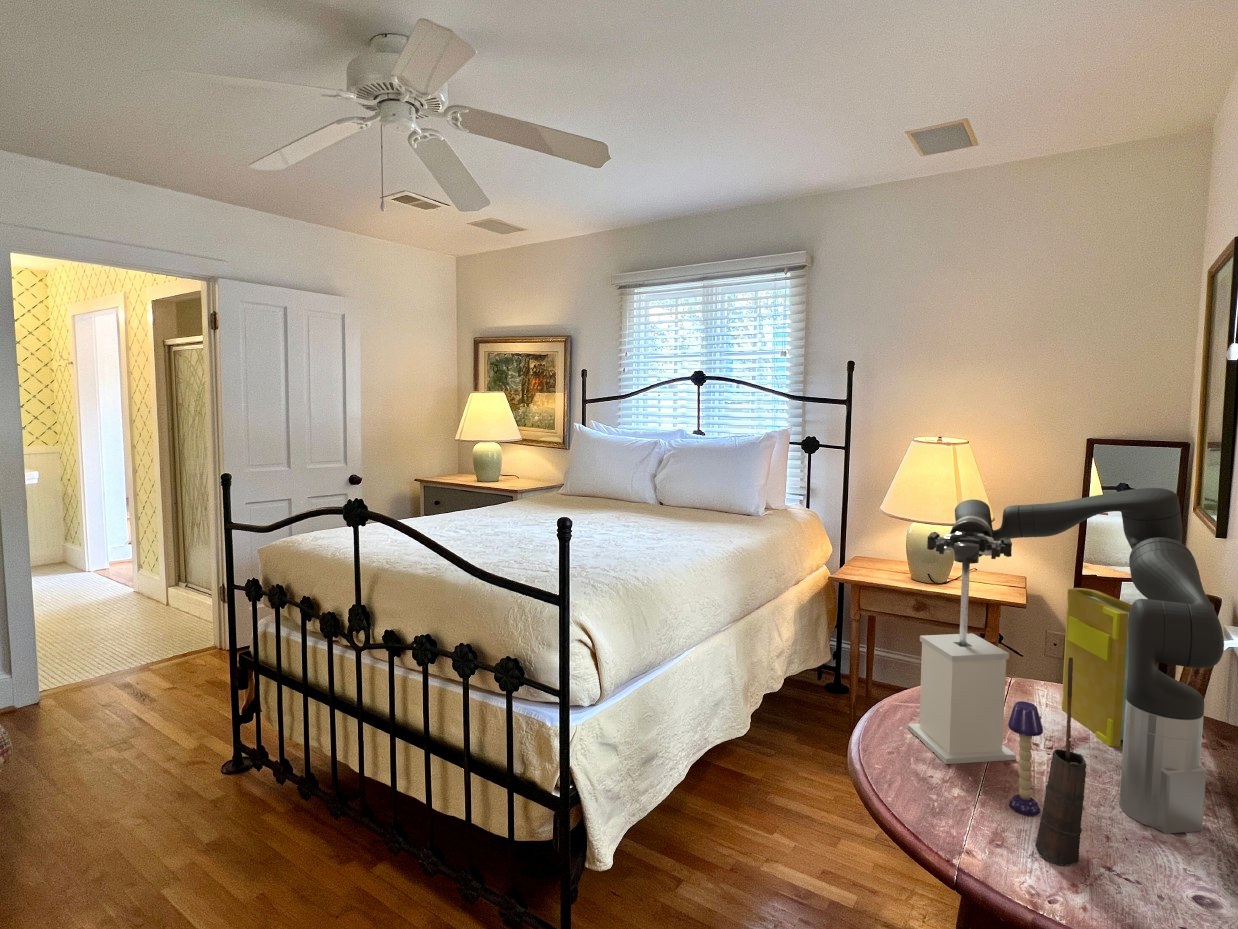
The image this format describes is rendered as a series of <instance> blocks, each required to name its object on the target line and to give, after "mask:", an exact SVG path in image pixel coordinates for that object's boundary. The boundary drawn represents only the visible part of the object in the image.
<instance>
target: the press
mask: <svg viewBox="0 0 1238 929" xmlns="http://www.w3.org/2000/svg"><path fill="white" fill-rule="evenodd" d="M959 638H960V633H952V634H951V633H950V634H929V635H928V634H925V635H919V641H920V642H921V660H920V661H921V662H920V663H921V667H920V669H921V670H920V694H919V696H920V697H919V720H918V721H919V723H907V730H908V729H909V730H910V731H911V732H912V733H913V734H912V733H911V732H910V731H909V730H908V731H909V732H910V733H911V734H912V735H913V736H915V737H916V736H917V737H918V738H919V739H918V738H917V737H916V738H917V739H918V740H919V741H920V740H921V741H922V742H923V743H924V744H925V745H924V744H923V743H922V742H921V741H920V742H921V743H922V744H923V745H924V746H926V748H928V750H930V752H932V753H933V752H934V753H935V754H936V755H937V756H936V755H935V754H934V753H933V754H934V755H935V756H936V757H937V758H939V759H940V760H941V761H942V763H944V764H945V765H953V764H966V763H967V764H968V763H970V764H971V763H985V762H986V763H988V762H1001V761H1002V762H1003V761H1015V760H1016V756H1017V754H1016V753H1015V752H1013V751H1012V750H1010V748H1008V747H1007V746H1005V745H1004V744H1003V743H1004V723H1005V722H1004V719H1005V697H1006V696H1005V694H1006V675H1007V660H1009V659H1010V653H1009V652H1007V651H1005V649H1002V648H1000V647H998V646H996V645H995V644H993V643H991V642H990V641H988V640H986V639H985V638H982V637H981V636H978V635H977V634H974V633H967V647H960V646H959Z"/></svg>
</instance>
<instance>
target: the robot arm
mask: <svg viewBox="0 0 1238 929" xmlns="http://www.w3.org/2000/svg"><path fill="white" fill-rule="evenodd" d="M1110 512H1121V519H1122V525H1123V526H1122V528H1123V533H1124V536H1125V539H1126V540H1127V542H1128V545H1129V547H1130V549H1131V551H1130V553H1129V558H1128V560H1129V561H1128V562H1129V563H1128V565H1129V572H1130V578H1131V580H1132V583H1133V585H1134V587H1135V589H1136V590H1137V591H1138V593H1140V594H1141V595H1142V596H1144V597H1145V598H1138V599H1135V600H1134V601H1133V602H1132V604H1131V605H1132V606H1131V608H1130V611H1129V618H1128V677H1127V690H1126V706H1125V720H1124V736H1123V740H1122V757H1121V769H1120V770H1121V771H1120V790H1119V791H1120V792H1119V802H1118V803H1119V807H1120V808H1121V810H1122V811H1123V812H1124V813H1125V814H1126V815H1127V816H1129V817H1131V818H1132V819H1134V820H1135V821H1137V822H1139V823H1141V824H1144V825H1146V826H1149V827H1151V828H1154V829H1157V830H1158V831H1160V832H1162V833H1164V834H1176V833H1191V832H1192V833H1193V832H1202V831H1203V825H1204V824H1203V822H1204V812H1205V811H1204V810H1205V795H1206V781H1207V770H1206V769H1205V768H1204V767H1203V766H1201V756H1202V742H1203V740H1202V739H1203V729H1204V728H1203V726H1204V714H1205V700H1204V697H1203V695H1202V693H1200V692H1199V690H1196V689H1195V688H1194V687H1192V686H1190V685H1188V684H1186V683H1184V682H1181V681H1179V680H1177V679H1175V678H1173V677H1171V676H1168V675H1167V674H1166V673H1164V672H1162V671H1161V670H1160V669H1158V668H1157V667H1156V666H1155V663H1158V664H1159V663H1160V664H1164V665H1165V664H1166V665H1172V666H1178V667H1184V668H1185V667H1187V668H1192V669H1209V668H1213V667H1214V666H1216V665H1218V663H1219V662H1220V661H1221V659H1222V657H1223V654H1224V650H1225V639H1224V637H1225V636H1224V632H1223V628H1222V624H1221V622H1220V618H1219V616H1218V615H1217V612H1216V609H1214V607H1213V605H1212V602H1211V601H1210V600H1209V597H1208V596H1207V594H1206V592H1205V590H1204V588H1203V584H1202V581H1201V576H1200V571H1199V569H1198V565H1197V562H1196V559H1195V557H1194V554H1193V553H1192V551H1191V550H1190V549H1189V548H1188V547H1187V546H1186V545H1184V544H1183V543H1182V542H1183V522H1182V513H1181V512H1182V511H1181V504H1180V499H1179V496H1178V495H1177V493H1176V492H1174V491H1173V490H1170V489H1168V488H1163V487H1162V488H1161V487H1142V488H1141V487H1140V488H1133V489H1126V490H1120V491H1114V492H1110V493H1103V494H1097V495H1091V496H1086V497H1081V498H1075V499H1069V500H1063V501H1058V502H1049V503H1035V504H1034V503H1033V504H1032V503H1031V504H1020V505H1019V504H1016V505H1008V506H1006V507H1004V509H1003V512H1002V518H1001V519H1002V520H1001V524H1000V527H998V528H997V529H996V528H995V529H994V528H993V521H992V514H991V509H990V506H989V505H988V504H987V503H986V502H985V501H982V500H981V499H967V500H964V501H961V502H959V503H958V504H956V507H955V508H954V518H955V520H954V521H955V522H954V523H953V525H952V527H951V530H950V532H949V533H947V534H945V535H944V536H941V534H940V533H939V532H936V531H932V532H930V533H929V535H928V536H927V539H926V540H927V544H926V549H927V550H929V551H932V550H935V552H936V553H937V552H938V553H939V555H944V553H945V552H947V553H951V554H952V553H953V554H954V544H955V543H958V542H966V543H974V544H978V545H979V558H980V557H983V556H989V557H991V560H996V559H997V558H1000V557H1001V555H1003V557H1004V556H1005V557H1006V558H1010V557H1012V554H1013V552H1012V546H1013V543H1012V540H1013V539H1017V538H1018V539H1021V538H1042V537H1043V538H1044V537H1045V538H1047V537H1053V536H1057V535H1059V534H1062V533H1065V532H1066V531H1068V530H1070V529H1073V527H1075V526H1077V525H1078V524H1080V523H1082V522H1084V521H1086V520H1088V519H1090V518H1092V517H1095V516H1097V515H1101V514H1105V513H1110ZM1011 539H1012V540H1011Z"/></svg>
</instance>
